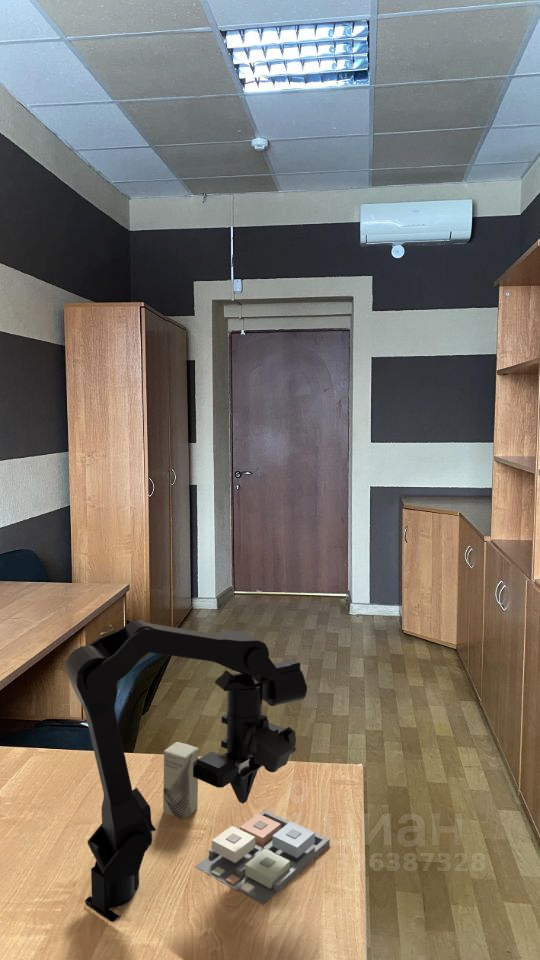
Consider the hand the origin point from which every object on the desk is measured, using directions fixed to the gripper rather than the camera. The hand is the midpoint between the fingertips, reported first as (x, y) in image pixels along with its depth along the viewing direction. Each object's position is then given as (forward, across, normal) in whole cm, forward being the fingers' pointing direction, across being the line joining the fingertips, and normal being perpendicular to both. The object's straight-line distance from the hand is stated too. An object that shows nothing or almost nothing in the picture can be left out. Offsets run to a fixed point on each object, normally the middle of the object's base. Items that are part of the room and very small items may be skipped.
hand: (242, 802), depth 114 cm
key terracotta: (+8, +5, 0) cm, 9 cm away
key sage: (+8, -2, -7) cm, 11 cm away
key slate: (+7, +5, -7) cm, 11 cm away
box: (+10, +2, +16) cm, 19 cm away
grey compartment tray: (+10, +1, -4) cm, 10 cm away
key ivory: (+7, -2, 0) cm, 7 cm away
